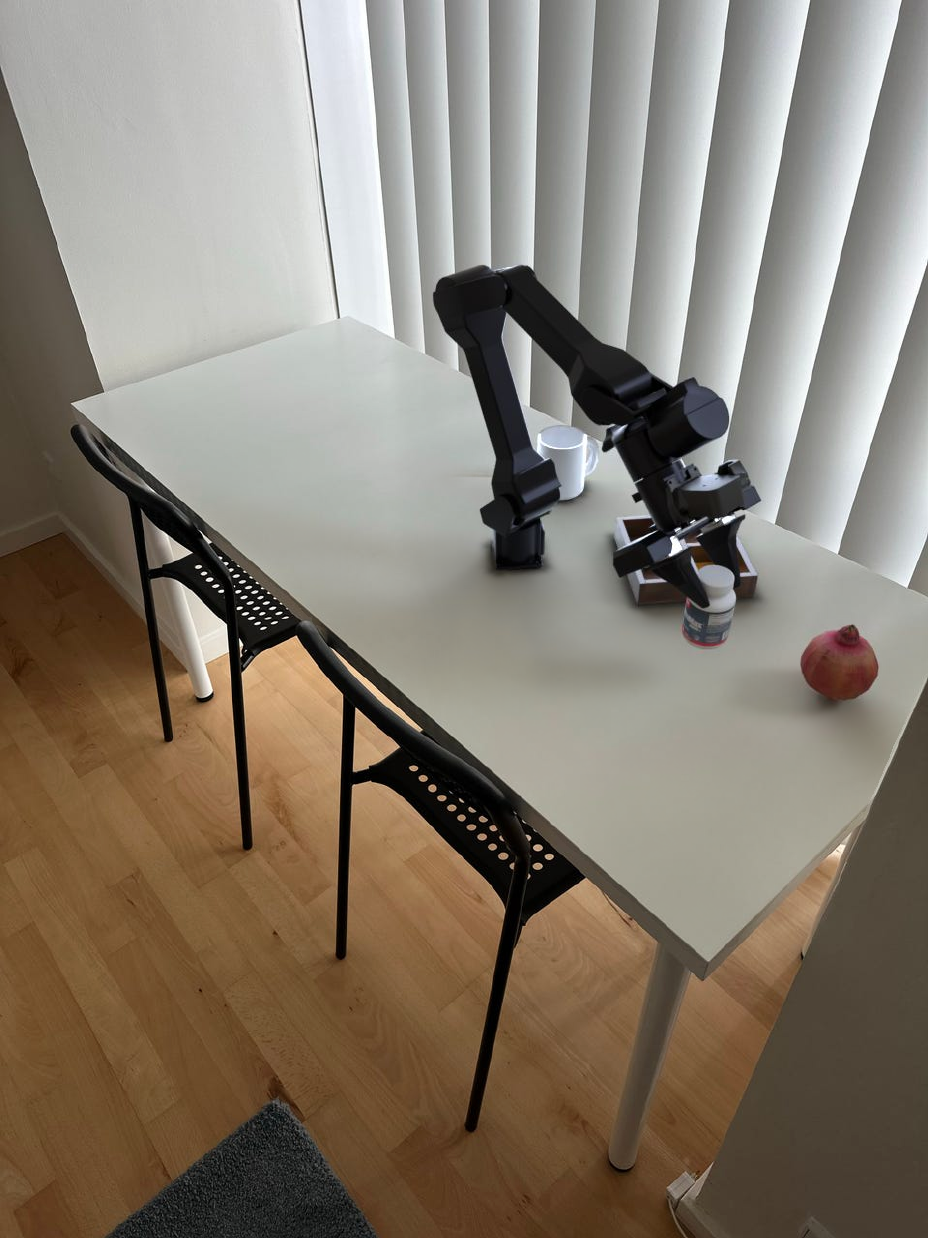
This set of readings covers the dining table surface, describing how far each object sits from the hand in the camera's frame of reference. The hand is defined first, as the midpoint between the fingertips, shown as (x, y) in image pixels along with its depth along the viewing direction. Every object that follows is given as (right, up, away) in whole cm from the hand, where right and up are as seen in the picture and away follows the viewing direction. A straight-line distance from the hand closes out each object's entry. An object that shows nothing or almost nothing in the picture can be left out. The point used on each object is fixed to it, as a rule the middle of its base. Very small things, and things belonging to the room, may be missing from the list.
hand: (722, 597), depth 104 cm
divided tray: (+1, +5, +25) cm, 26 cm away
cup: (-12, +18, +42) cm, 47 cm away
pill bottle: (-1, -4, +5) cm, 7 cm away
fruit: (+14, -11, +6) cm, 19 cm away
